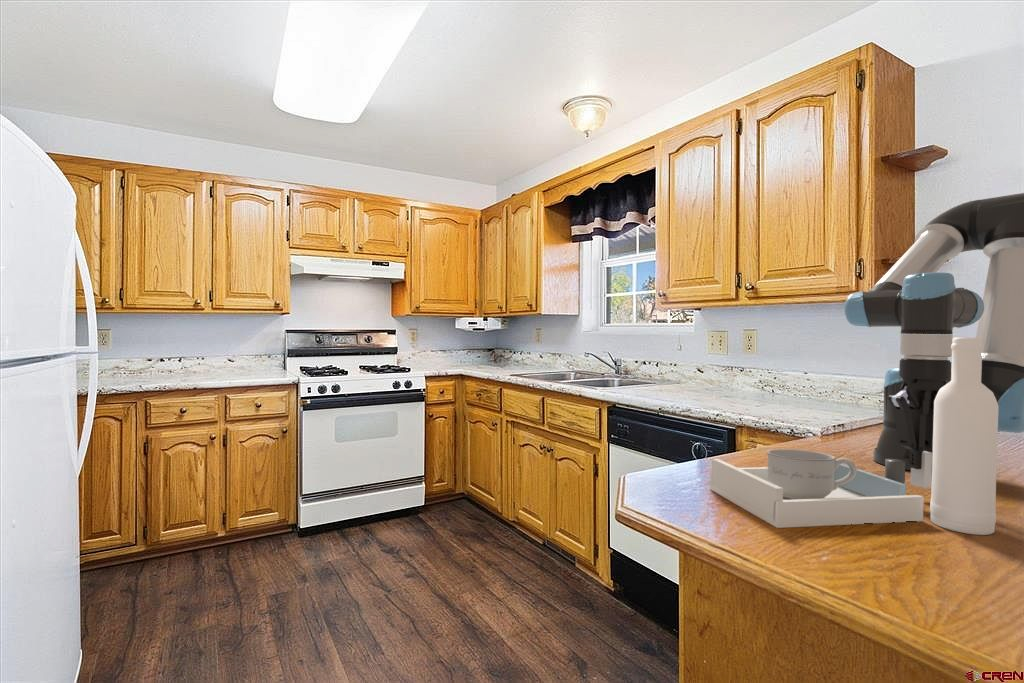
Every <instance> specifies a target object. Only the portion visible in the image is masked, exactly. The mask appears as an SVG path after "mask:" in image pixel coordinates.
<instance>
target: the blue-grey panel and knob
mask: <svg viewBox="0 0 1024 683" xmlns="http://www.w3.org/2000/svg"><path fill="white" fill-rule="evenodd" d="M905 464H906V462H905V461H902V460H897V459H885V465H884V476H880V475H878V474H875V473H872V472H868V471H866V470H863V469H861V468H857V467H856V469H857V473H856V475H855V477H854V478H853V479H852V480H851V481H849V482H847V483H845V484H843V485H841V486H842V487H844V488H847V489H849V490H852V491H855V492H857V493H860V494H862V495H865V496H868V497H876V496H903V495H907V494H906V493H907V484H906V470H905ZM849 471H850V468H849V466H848V465H847V464H844V463H843V464H840V465H839V466H838V468H837V470H836V472H834V481H835V480H839V479H842V478H844V477H845V476H847V475H848V473H849Z"/></svg>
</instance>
